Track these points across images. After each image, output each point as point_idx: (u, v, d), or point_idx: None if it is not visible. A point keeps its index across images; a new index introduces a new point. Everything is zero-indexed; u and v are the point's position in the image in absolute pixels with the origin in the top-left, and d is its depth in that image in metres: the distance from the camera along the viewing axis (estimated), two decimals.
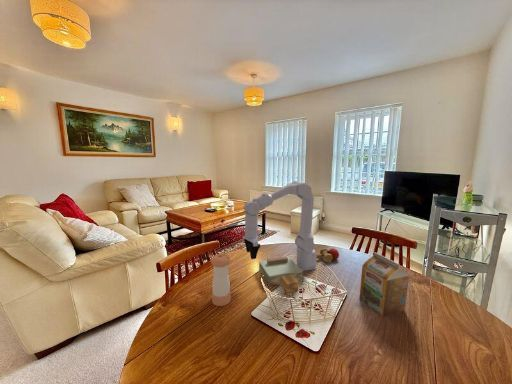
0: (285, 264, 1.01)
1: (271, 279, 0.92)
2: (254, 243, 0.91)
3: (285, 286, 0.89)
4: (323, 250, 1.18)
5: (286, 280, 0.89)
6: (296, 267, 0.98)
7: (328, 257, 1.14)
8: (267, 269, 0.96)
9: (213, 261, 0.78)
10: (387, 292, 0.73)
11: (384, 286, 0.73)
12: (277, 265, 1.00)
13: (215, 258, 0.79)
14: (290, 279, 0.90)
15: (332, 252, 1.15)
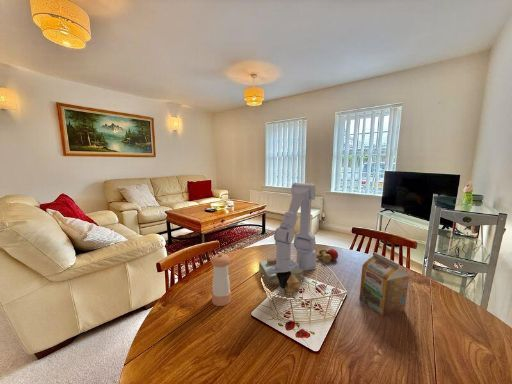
0: None
1: (271, 279, 0.92)
2: (267, 271, 0.85)
3: (286, 286, 0.89)
4: (322, 250, 1.17)
5: None
6: None
7: (327, 257, 1.14)
8: None
9: (213, 261, 0.78)
10: (387, 292, 0.73)
11: (384, 286, 0.73)
12: None
13: (215, 258, 0.79)
14: (291, 278, 0.90)
15: (331, 252, 1.14)
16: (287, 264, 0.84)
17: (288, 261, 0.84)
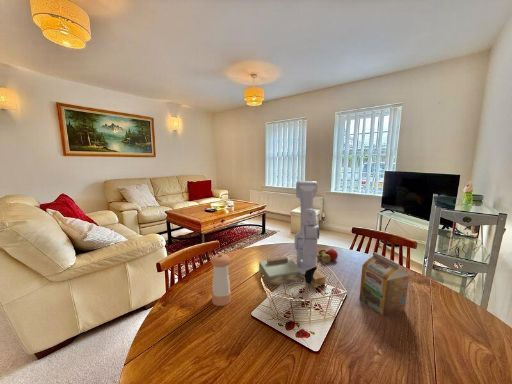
0: (285, 264, 1.01)
1: (271, 279, 0.92)
2: (300, 270, 0.85)
3: (312, 281, 0.92)
4: (321, 251, 1.17)
5: (313, 275, 0.93)
6: (296, 267, 0.98)
7: (326, 258, 1.13)
8: (267, 269, 0.96)
9: (213, 261, 0.78)
10: (387, 292, 0.73)
11: (384, 286, 0.73)
12: (277, 265, 1.00)
13: (215, 258, 0.79)
14: (316, 274, 0.94)
15: (330, 253, 1.14)
16: (316, 259, 0.89)
17: (316, 256, 0.89)
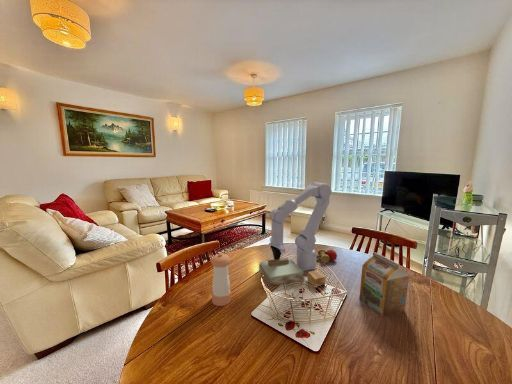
0: (286, 265, 1.00)
1: (271, 279, 0.92)
2: (282, 250, 0.95)
3: (312, 281, 0.92)
4: (321, 251, 1.17)
5: (313, 275, 0.93)
6: (297, 268, 0.97)
7: (325, 258, 1.13)
8: (268, 271, 0.95)
9: (213, 261, 0.78)
10: (387, 292, 0.73)
11: (384, 286, 0.73)
12: (278, 266, 1.00)
13: (215, 258, 0.79)
14: (317, 274, 0.94)
15: (329, 253, 1.14)
16: None
17: None
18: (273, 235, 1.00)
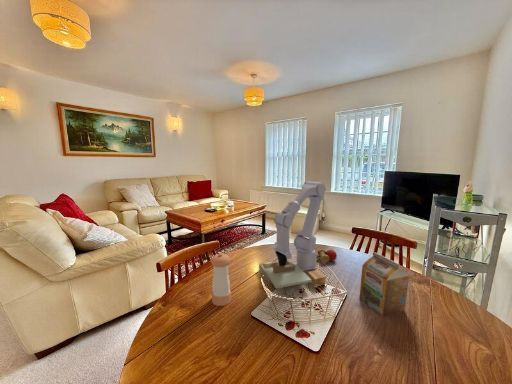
0: (292, 272, 0.94)
1: None
2: (288, 256, 0.89)
3: (312, 281, 0.92)
4: (321, 251, 1.17)
5: (313, 275, 0.93)
6: (304, 276, 0.91)
7: (325, 258, 1.13)
8: (273, 278, 0.89)
9: (213, 261, 0.78)
10: (387, 292, 0.73)
11: (384, 286, 0.73)
12: (284, 273, 0.93)
13: (215, 258, 0.79)
14: (317, 274, 0.94)
15: (329, 253, 1.13)
16: None
17: None
18: (278, 240, 0.93)
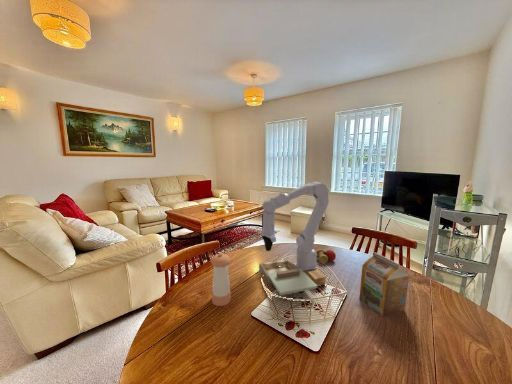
0: (297, 277, 0.90)
1: None
2: (272, 239, 0.98)
3: None
4: (320, 251, 1.17)
5: (313, 275, 0.93)
6: (310, 281, 0.87)
7: (323, 258, 1.13)
8: (277, 284, 0.85)
9: (213, 261, 0.78)
10: (387, 292, 0.73)
11: (384, 286, 0.73)
12: (288, 278, 0.89)
13: (215, 258, 0.79)
14: (317, 274, 0.94)
15: (328, 253, 1.13)
16: None
17: None
18: (264, 225, 1.02)
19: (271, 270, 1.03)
